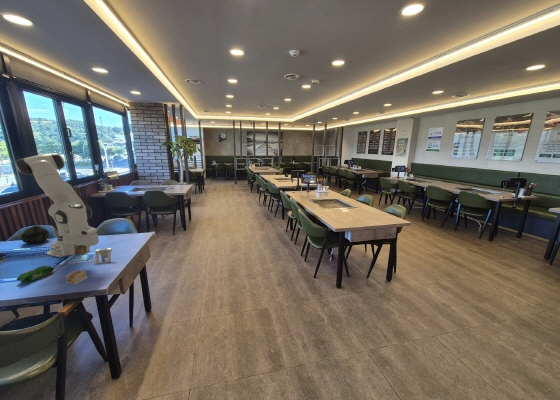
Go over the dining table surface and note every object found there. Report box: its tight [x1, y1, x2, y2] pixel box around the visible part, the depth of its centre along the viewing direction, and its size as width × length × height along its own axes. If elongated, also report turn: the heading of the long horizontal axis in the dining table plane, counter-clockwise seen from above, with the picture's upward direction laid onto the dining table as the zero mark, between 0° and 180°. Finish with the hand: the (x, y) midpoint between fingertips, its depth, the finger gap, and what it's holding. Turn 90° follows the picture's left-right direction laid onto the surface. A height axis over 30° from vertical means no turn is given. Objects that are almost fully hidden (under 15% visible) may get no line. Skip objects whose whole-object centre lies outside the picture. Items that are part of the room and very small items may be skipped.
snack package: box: [16, 265, 54, 283], centre depth 131 cm, size 7×16×5 cm, turn 166°
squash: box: [20, 225, 50, 244], centre depth 180 cm, size 14×15×15 cm
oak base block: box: [65, 269, 88, 284], centre depth 129 cm, size 6×6×4 cm
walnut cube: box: [74, 245, 91, 256], centre depth 142 cm, size 5×5×5 cm
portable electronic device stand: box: [93, 248, 113, 265], centre depth 152 cm, size 9×8×8 cm
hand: (82, 250), depth 142 cm, fingers closed on walnut cube, 5 cm apart
